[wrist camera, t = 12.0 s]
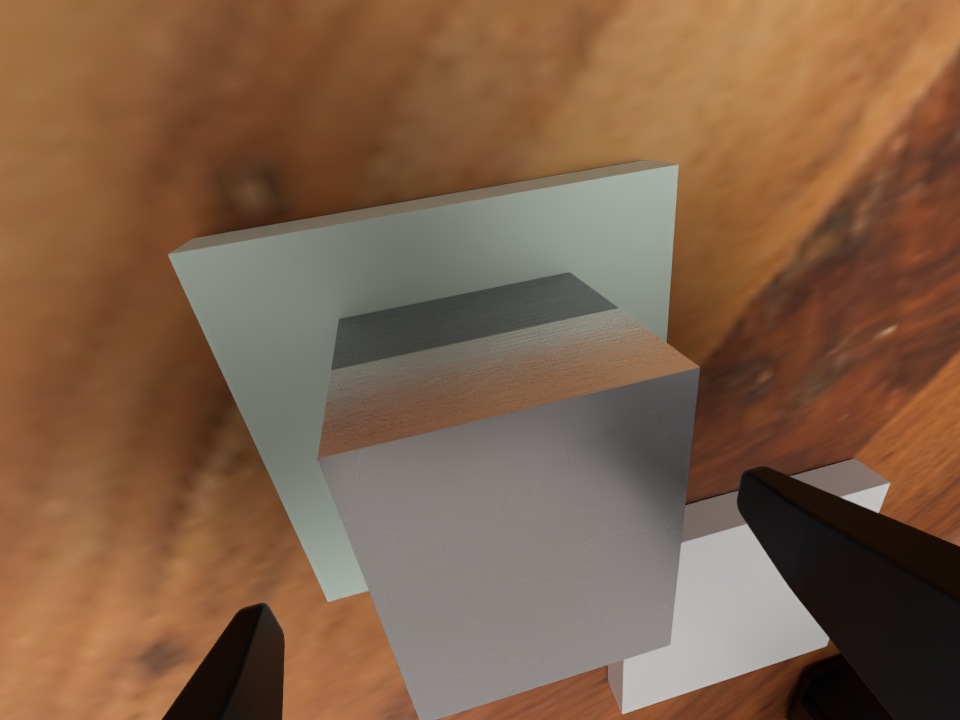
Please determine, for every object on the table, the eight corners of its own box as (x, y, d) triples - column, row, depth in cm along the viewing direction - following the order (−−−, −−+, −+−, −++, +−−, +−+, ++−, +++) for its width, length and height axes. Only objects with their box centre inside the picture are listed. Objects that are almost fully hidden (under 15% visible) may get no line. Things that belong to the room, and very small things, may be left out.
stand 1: (643, 160, 12) (678, 164, 10) (632, 481, 17) (654, 511, 16) (192, 238, 10) (167, 254, 9) (331, 561, 16) (328, 601, 14)
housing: (569, 272, 11) (699, 366, 7) (578, 487, 14) (669, 645, 10) (338, 319, 10) (317, 458, 6) (404, 533, 14) (421, 724, 9)
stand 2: (854, 458, 19) (890, 482, 18) (801, 618, 24) (826, 646, 23) (607, 526, 18) (626, 558, 16) (607, 681, 23) (621, 714, 22)
